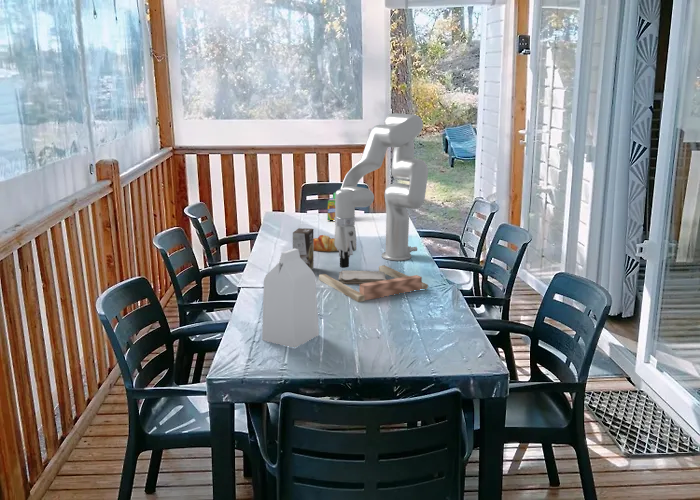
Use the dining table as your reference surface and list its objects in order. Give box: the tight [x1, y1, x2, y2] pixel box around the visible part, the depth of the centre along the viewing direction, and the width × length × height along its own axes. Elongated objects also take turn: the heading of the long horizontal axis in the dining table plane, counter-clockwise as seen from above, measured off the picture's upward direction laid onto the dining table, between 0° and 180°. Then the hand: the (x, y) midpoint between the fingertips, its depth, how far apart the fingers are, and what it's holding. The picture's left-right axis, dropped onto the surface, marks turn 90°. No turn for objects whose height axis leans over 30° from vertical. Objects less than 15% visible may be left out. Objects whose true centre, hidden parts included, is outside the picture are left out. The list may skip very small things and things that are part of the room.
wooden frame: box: [318, 264, 429, 303], centre depth 240 cm, size 29×29×5 cm
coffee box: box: [292, 227, 315, 271], centre depth 256 cm, size 9×6×16 cm
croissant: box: [313, 234, 339, 253], centre depth 290 cm, size 21×10×8 cm, turn 86°
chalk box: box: [326, 192, 336, 221], centre depth 352 cm, size 9×9×15 cm
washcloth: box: [337, 270, 387, 285], centre depth 246 cm, size 12×18×3 cm, turn 90°
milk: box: [261, 248, 320, 349], centre depth 187 cm, size 12×12×26 cm
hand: (344, 267), depth 258 cm, fingers closed
